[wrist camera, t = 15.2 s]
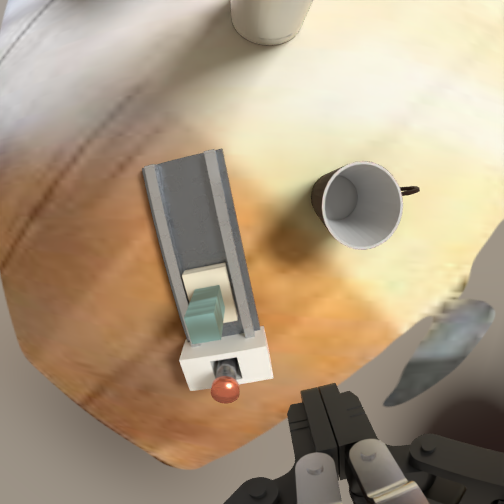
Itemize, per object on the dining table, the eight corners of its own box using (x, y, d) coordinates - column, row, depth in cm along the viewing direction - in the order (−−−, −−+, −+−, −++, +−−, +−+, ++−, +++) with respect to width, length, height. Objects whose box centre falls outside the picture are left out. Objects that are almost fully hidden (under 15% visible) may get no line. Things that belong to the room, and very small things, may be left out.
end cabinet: (185, 339, 43) (178, 360, 38) (263, 325, 43) (266, 346, 38) (195, 368, 44) (190, 390, 39) (270, 356, 44) (273, 378, 39)
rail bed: (144, 168, 38) (137, 168, 35) (222, 149, 37) (221, 147, 35) (195, 359, 44) (193, 369, 42) (264, 348, 44) (265, 357, 41)
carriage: (184, 270, 40) (167, 300, 30) (225, 262, 39) (220, 291, 30) (198, 320, 41) (187, 362, 32) (237, 313, 41) (236, 354, 31)
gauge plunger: (213, 344, 42) (207, 384, 34) (236, 340, 42) (235, 380, 33) (219, 363, 43) (214, 405, 34) (241, 359, 43) (242, 401, 34)
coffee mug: (295, 224, 40) (312, 240, 30) (310, 156, 38) (332, 151, 28) (378, 241, 41) (414, 261, 31) (392, 178, 39) (433, 182, 29)
